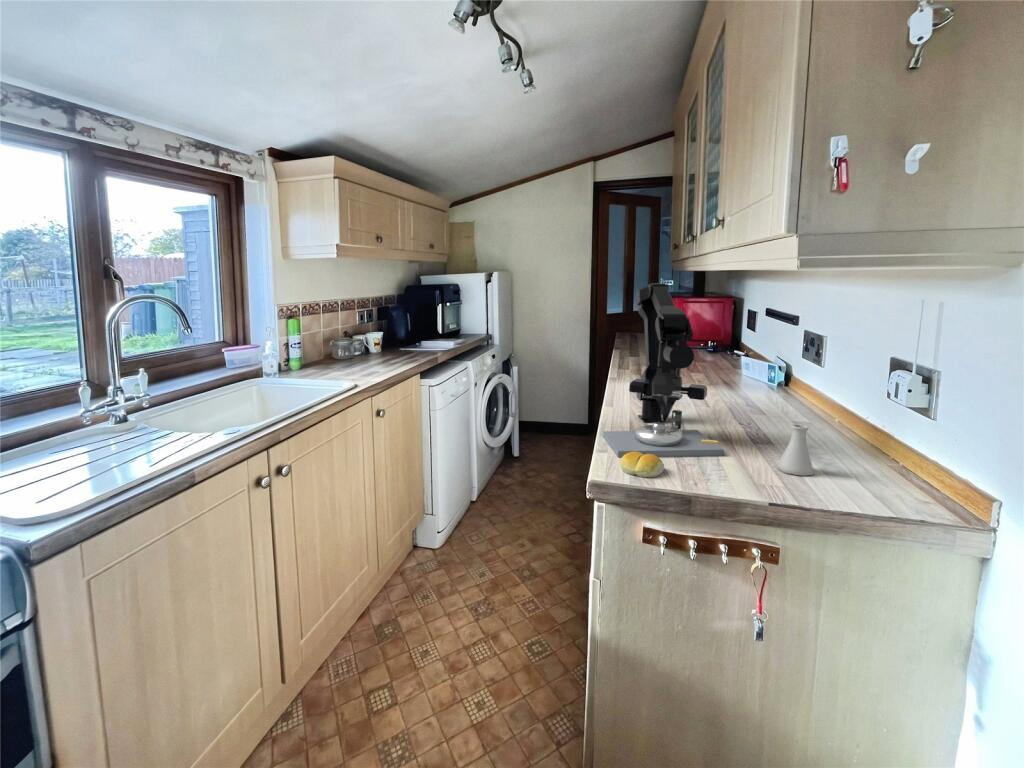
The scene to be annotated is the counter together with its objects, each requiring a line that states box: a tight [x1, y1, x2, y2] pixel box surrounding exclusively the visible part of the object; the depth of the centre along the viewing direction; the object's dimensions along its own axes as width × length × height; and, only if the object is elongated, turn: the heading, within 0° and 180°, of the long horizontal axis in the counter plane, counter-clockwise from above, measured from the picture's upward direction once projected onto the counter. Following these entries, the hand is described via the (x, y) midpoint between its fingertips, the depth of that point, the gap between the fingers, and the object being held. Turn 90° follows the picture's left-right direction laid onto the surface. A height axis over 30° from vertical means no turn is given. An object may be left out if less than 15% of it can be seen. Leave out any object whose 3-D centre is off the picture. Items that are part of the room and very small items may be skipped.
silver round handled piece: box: [635, 409, 683, 446], centre depth 127 cm, size 16×11×6 cm
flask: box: [776, 423, 815, 477], centre depth 109 cm, size 7×7×10 cm
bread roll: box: [619, 452, 665, 478], centre depth 110 cm, size 8×9×4 cm
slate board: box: [602, 429, 725, 458], centre depth 126 cm, size 16×26×2 cm, turn 93°
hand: (665, 420), depth 134 cm, fingers closed
